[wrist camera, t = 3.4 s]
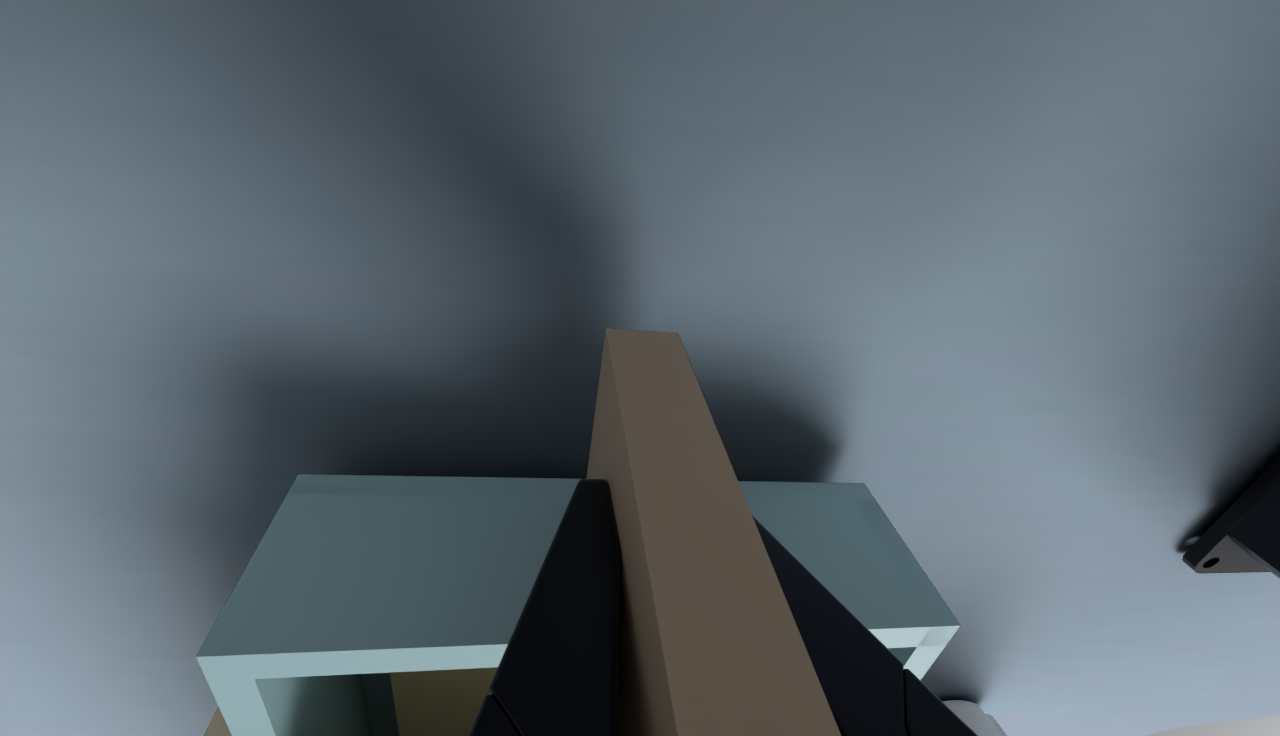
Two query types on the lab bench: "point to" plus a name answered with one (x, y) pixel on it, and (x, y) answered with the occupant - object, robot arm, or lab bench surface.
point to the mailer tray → (510, 562)
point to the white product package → (975, 718)
